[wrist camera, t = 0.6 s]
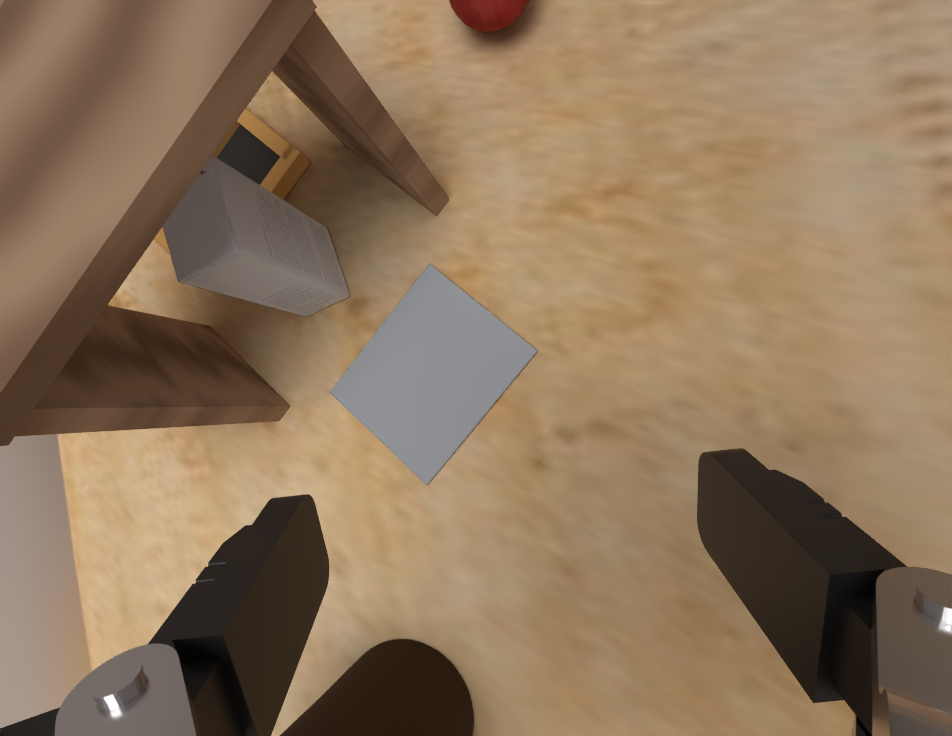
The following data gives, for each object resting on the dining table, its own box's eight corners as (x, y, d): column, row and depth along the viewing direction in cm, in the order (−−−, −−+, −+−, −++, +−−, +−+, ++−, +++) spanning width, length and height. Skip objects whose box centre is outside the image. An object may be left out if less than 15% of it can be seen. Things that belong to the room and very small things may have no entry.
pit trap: (155, 231, 41) (139, 225, 40) (243, 106, 40) (229, 95, 39) (217, 290, 40) (202, 286, 38) (311, 161, 38) (300, 152, 37)
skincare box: (282, 250, 38) (146, 183, 27) (328, 227, 38) (209, 148, 26) (304, 320, 38) (174, 284, 26) (352, 298, 37) (240, 250, 25)
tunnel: (194, 336, 40) (-169, 276, 21) (349, 123, 38) (103, -157, 19) (283, 425, 37) (-38, 448, 18) (454, 203, 35) (292, -28, 16)
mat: (331, 392, 37) (329, 392, 36) (430, 264, 35) (429, 263, 35) (428, 484, 34) (426, 484, 34) (537, 350, 33) (537, 350, 33)
